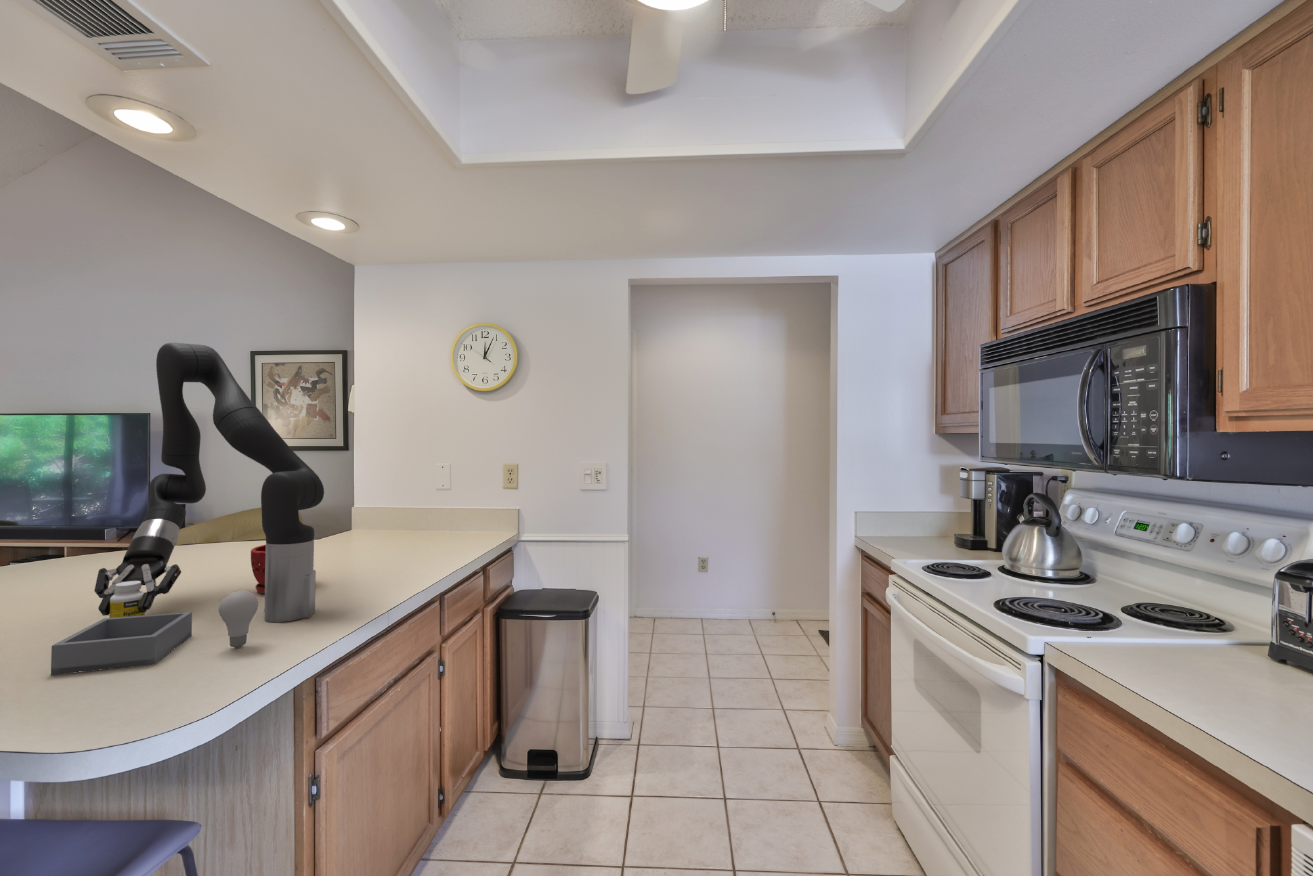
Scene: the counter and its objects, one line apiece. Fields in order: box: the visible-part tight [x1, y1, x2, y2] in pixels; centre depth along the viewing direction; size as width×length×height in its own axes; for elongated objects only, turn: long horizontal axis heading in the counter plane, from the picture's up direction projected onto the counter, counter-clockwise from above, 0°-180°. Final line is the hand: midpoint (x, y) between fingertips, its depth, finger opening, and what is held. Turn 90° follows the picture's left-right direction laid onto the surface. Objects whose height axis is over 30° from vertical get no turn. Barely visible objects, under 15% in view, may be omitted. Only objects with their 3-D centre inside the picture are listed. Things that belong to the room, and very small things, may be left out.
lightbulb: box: [218, 590, 259, 649], centre depth 106 cm, size 6×6×11 cm
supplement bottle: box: [108, 581, 146, 618], centre depth 115 cm, size 5×5×10 cm
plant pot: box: [250, 544, 266, 594], centre depth 147 cm, size 13×13×12 cm
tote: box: [50, 611, 193, 676], centre depth 102 cm, size 14×15×5 cm
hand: (123, 612), depth 113 cm, fingers closed on supplement bottle, 5 cm apart
